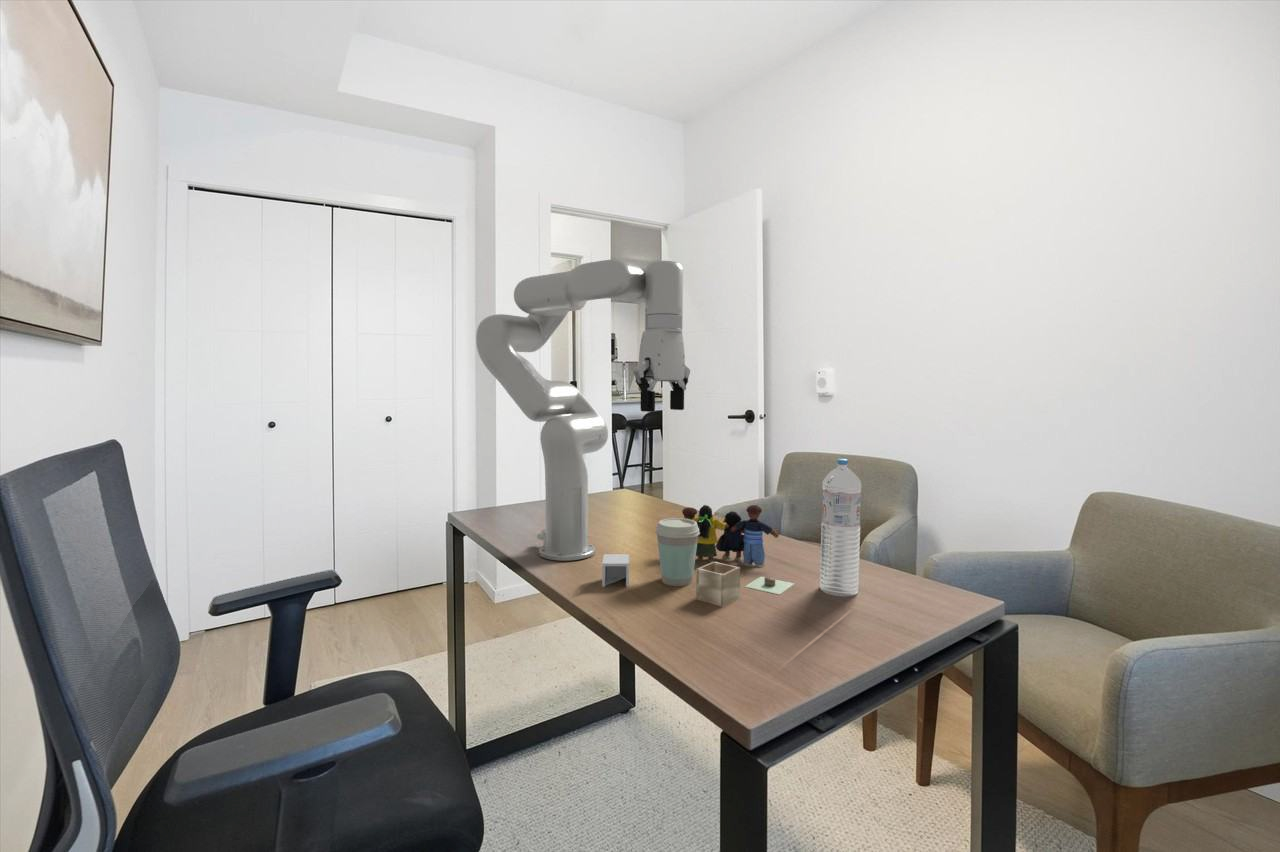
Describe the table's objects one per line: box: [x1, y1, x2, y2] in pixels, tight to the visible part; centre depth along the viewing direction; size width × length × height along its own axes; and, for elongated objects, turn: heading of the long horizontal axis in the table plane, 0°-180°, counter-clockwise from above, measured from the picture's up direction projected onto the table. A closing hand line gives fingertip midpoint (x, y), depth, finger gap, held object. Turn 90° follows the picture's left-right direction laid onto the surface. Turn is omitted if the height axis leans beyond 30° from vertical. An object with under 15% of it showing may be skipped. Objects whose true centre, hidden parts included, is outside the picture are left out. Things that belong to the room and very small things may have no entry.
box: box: [695, 560, 741, 608], centre depth 106 cm, size 6×6×6 cm
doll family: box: [681, 504, 779, 569], centre depth 130 cm, size 23×9×13 cm, turn 81°
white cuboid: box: [601, 553, 630, 588], centre depth 115 cm, size 6×5×5 cm
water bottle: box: [819, 458, 862, 598], centre depth 110 cm, size 7×7×25 cm
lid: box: [744, 576, 796, 596], centre depth 113 cm, size 7×7×2 cm
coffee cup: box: [655, 517, 700, 587], centre depth 116 cm, size 8×8×12 cm
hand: (662, 410), depth 121 cm, fingers open, 9 cm apart
